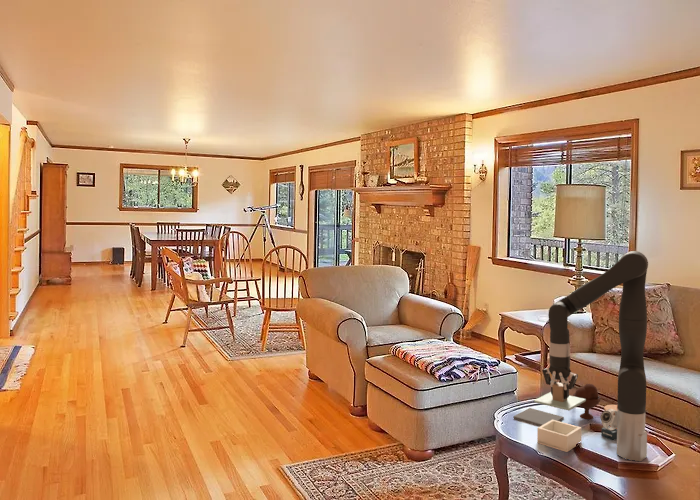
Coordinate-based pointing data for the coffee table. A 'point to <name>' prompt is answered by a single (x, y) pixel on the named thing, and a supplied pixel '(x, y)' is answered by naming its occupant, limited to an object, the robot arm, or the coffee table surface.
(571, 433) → the cream open storage box
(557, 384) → the lid
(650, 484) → the coffee table surface
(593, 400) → the ice cream bowl
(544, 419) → the mat
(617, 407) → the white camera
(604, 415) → the watch
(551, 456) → the coffee table surface
